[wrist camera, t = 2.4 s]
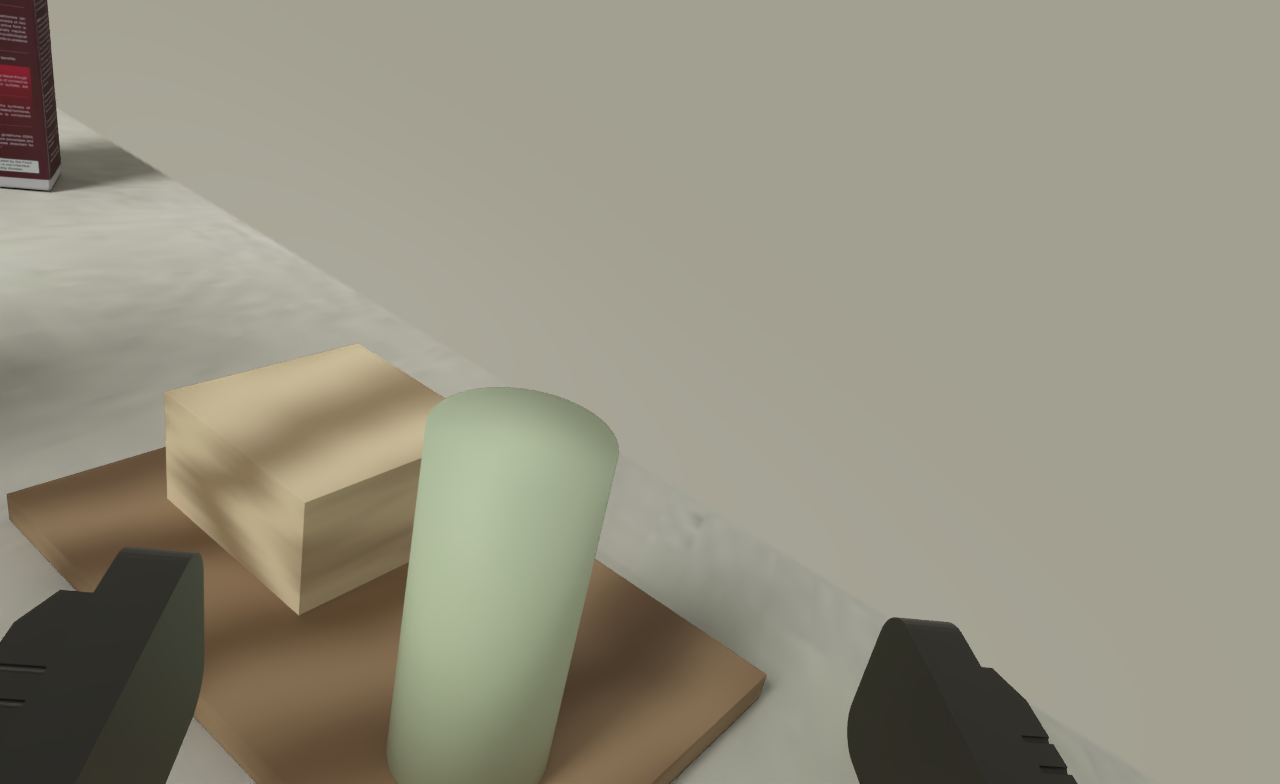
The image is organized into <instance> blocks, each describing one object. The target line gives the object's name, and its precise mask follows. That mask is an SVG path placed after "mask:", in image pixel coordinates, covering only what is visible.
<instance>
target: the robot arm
mask: <svg viewBox="0 0 1280 784" xmlns="http://www.w3.org/2000/svg"><path fill="white" fill-rule="evenodd" d="M204 660H205V644H204V568H203V560H202V556H201V555H200V553H197V552H186V551H175V550H163V549H152V548H141V547H130V546H127V547H124V548H123V549H122V550H121V551H120V552H119V553H118V554H117V556H116V557H115V559H114V560H113V562H112V563H111V565H110V567H109V568H108V570H107V571H106V573H105V575H104V576H103V578H102V579H101V581H100V583H99V584H98V586H97V587H96V589H95V591H94V592H93V593H92V592H80V591H67V590H59V591H58V592H57V593H55V594H54V595H52V596H51V597H49V598H48V599H47V600H45V601H44V602H42V603H41V604H39V605H38V606H37V607H35V608H34V609H32V610H31V611H30V612H28V613H27V614H25V615H24V616H22V617H21V618H20V619H18V620H17V621H15V622H14V623H13V625H12V626H11V628H10V629H9V630H8V632H7V633H6V635H5V636H4V637H3V639H2V640H1V642H0V784H165V783H166V781H167V779H168V776H169V774H170V771H171V769H172V766H173V764H174V762H175V759H176V757H177V754H178V752H179V749H180V747H181V745H182V742H183V740H184V737H185V735H186V732H187V730H188V727H189V725H190V723H191V720H192V718H193V715H194V712H195V709H196V706H197V702H198V698H199V694H200V690H201V685H202V679H203V672H204ZM847 738H848V747H849V753H850V757H851V760H852V763H853V766H854V769H855V772H856V774H857V777H858V780H859V782H860V784H1077V782H1076V781H1075V779H1074V777H1073V776H1072V775H1068V774H1067V766H1066V764H1065V763H1064V761H1063V759H1062V758H1061V756H1060V754H1059V753H1058V751H1057V750H1056V748H1055V746H1054V745H1053V744H1049V742H1048V738H1049V737H1048V735H1047V733H1046V732H1045V730H1044V728H1043V727H1042V725H1041V723H1040V722H1039V720H1038V719H1037V717H1036V715H1035V714H1034V712H1033V710H1032V709H1031V707H1030V706H1029V704H1028V702H1027V701H1026V700H1025V699H1024V698H1023V697H1022V696H1021V695H1020V694H1019V693H1018V692H1017V691H1016V690H1014V689H1013V687H1011V686H1010V685H1009V684H1008V683H1007V682H1006V681H1005V680H1004V679H1003V678H1002V677H1001V676H1000V675H999V674H998V673H997V672H996V671H994V669H992V668H985V667H981V666H980V664H979V662H978V661H977V659H976V657H975V655H974V654H973V652H972V650H971V649H970V647H969V645H968V643H967V642H966V640H965V638H964V636H963V635H962V633H961V632H960V630H959V629H958V628H957V627H956V626H955V625H954V624H952V623H949V622H939V621H929V620H918V619H906V618H896V617H895V618H891V619H889V620H888V621H887V622H886V623H885V624H884V626H883V627H882V630H881V632H880V634H879V637H878V639H877V642H876V644H875V647H874V649H873V652H872V654H871V657H870V659H869V662H868V664H867V667H866V669H865V672H864V674H863V677H862V680H861V682H860V685H859V687H858V690H857V692H856V695H855V697H854V700H853V702H852V705H851V708H850V712H849V717H848V727H847Z"/></svg>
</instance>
